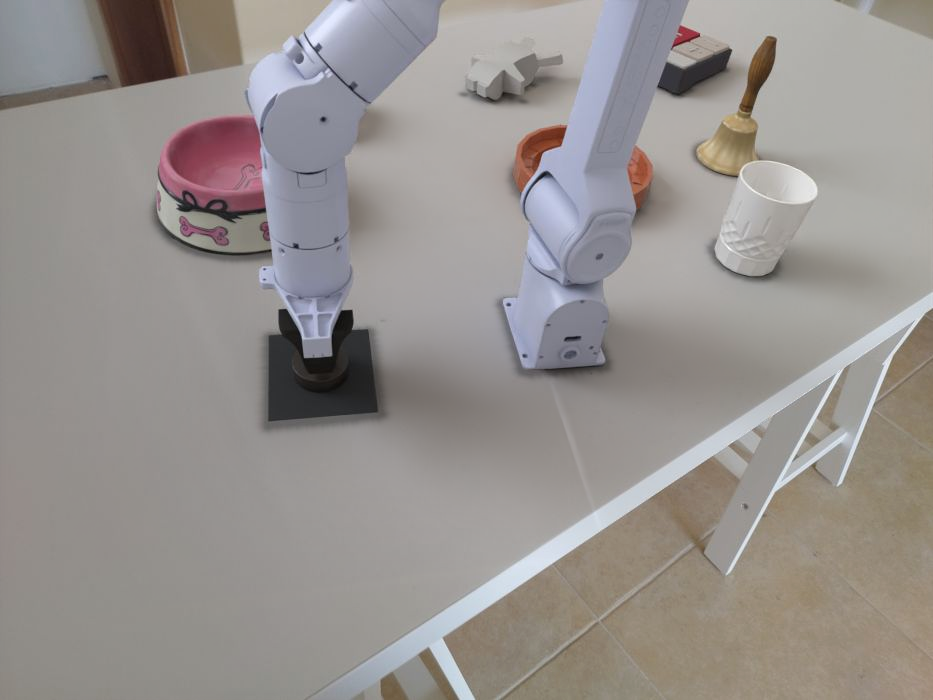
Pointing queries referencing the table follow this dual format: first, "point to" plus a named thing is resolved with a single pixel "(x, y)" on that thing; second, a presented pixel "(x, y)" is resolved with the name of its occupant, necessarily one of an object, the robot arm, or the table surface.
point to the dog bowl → (214, 187)
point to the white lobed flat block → (508, 68)
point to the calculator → (692, 60)
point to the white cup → (763, 216)
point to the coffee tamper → (323, 380)
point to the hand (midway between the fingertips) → (319, 354)
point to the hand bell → (740, 121)
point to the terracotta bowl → (553, 138)
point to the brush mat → (301, 403)
